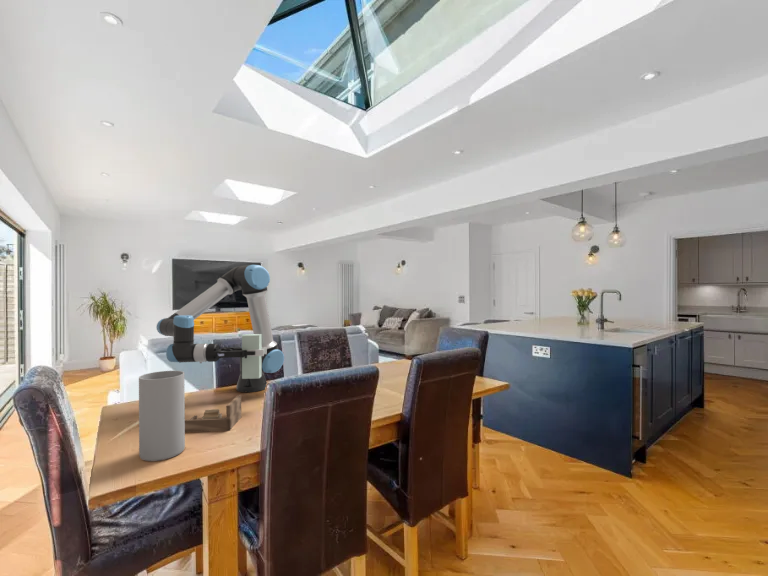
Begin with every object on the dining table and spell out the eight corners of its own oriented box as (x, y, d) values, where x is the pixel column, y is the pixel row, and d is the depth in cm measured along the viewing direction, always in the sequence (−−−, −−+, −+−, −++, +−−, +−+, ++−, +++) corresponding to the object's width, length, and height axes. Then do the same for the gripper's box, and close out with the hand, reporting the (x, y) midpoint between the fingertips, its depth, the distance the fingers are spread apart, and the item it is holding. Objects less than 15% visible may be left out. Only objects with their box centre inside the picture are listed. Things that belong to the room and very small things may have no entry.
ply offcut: (205, 418, 148) (205, 413, 148) (221, 417, 149) (221, 413, 149) (201, 422, 144) (201, 417, 144) (217, 421, 145) (217, 416, 145)
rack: (194, 421, 148) (194, 396, 148) (241, 420, 150) (241, 394, 150) (178, 435, 134) (177, 407, 134) (229, 433, 136) (229, 405, 136)
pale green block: (244, 376, 160) (244, 334, 160) (261, 376, 161) (261, 334, 161) (242, 378, 156) (241, 335, 156) (259, 378, 157) (259, 335, 157)
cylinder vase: (191, 452, 120) (190, 374, 120) (146, 466, 111) (146, 381, 111) (176, 441, 129) (175, 369, 129) (134, 454, 119) (133, 375, 119)
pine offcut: (205, 414, 148) (205, 409, 148) (219, 413, 149) (219, 408, 149) (203, 417, 144) (203, 412, 144) (217, 416, 145) (217, 411, 145)
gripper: (215, 358, 166) (269, 357, 167) (199, 365, 148) (260, 364, 150) (215, 340, 166) (269, 340, 167) (199, 346, 149) (260, 345, 150)
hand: (264, 351), depth 159 cm, fingers closed on pale green block, 4 cm apart
